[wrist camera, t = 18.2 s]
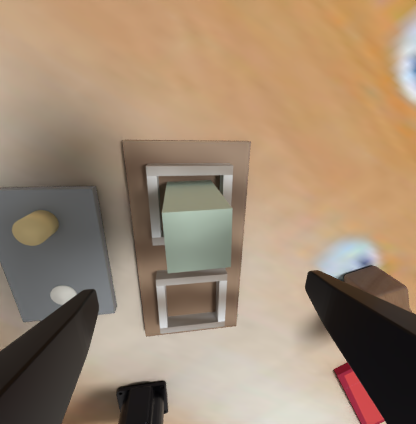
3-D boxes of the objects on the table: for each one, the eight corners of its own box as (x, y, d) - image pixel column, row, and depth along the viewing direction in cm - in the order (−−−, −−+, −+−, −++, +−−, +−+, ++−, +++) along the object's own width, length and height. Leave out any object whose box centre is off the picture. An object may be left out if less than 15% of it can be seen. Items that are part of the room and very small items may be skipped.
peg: (211, 219, 21) (230, 267, 14) (170, 222, 20) (167, 273, 13) (210, 179, 20) (232, 208, 12) (166, 181, 19) (161, 212, 12)
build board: (234, 319, 27) (239, 336, 25) (146, 329, 26) (144, 348, 24) (247, 141, 20) (256, 142, 17) (124, 139, 18) (117, 140, 16)
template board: (116, 306, 24) (109, 328, 21) (29, 314, 23) (9, 339, 20) (95, 186, 19) (82, 194, 16) (-17, 188, 18) (-52, 198, 15)
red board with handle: (410, 295, 31) (318, 341, 32) (431, 310, 29) (331, 360, 30) (427, 389, 43) (359, 421, 44) (443, 406, 40) (370, 439, 41)
